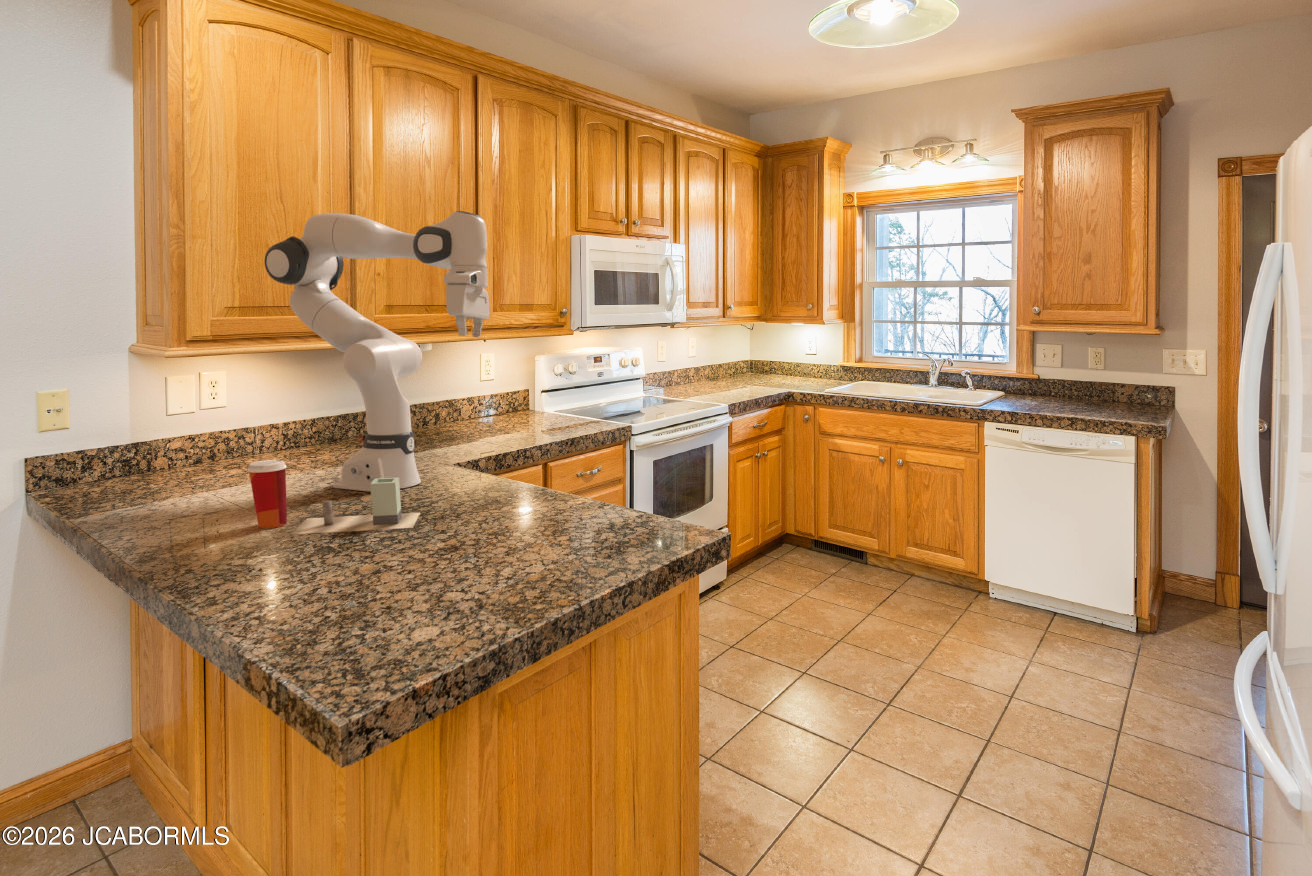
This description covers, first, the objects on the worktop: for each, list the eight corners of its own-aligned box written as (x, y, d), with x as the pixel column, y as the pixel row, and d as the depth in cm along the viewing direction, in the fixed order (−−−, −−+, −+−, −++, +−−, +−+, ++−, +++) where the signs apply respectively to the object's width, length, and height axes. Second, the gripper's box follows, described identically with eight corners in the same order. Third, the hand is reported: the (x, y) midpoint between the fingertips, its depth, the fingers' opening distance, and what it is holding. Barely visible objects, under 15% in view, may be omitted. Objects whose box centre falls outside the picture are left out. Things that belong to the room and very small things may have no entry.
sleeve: (373, 525, 161) (370, 483, 159) (377, 518, 166) (374, 478, 164) (398, 523, 162) (395, 482, 160) (401, 517, 167) (398, 477, 165)
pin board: (291, 541, 155) (288, 510, 154) (307, 525, 167) (304, 496, 166) (413, 534, 159) (411, 504, 158) (420, 518, 171) (418, 490, 170)
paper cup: (280, 518, 172) (274, 457, 170) (299, 523, 168) (293, 461, 166) (245, 526, 166) (238, 463, 164) (264, 532, 162) (257, 467, 159)
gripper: (471, 283, 197) (472, 337, 198) (440, 275, 177) (441, 334, 178) (495, 284, 196) (495, 338, 198) (466, 275, 176) (467, 335, 177)
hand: (470, 336), depth 188 cm, fingers open, 8 cm apart
